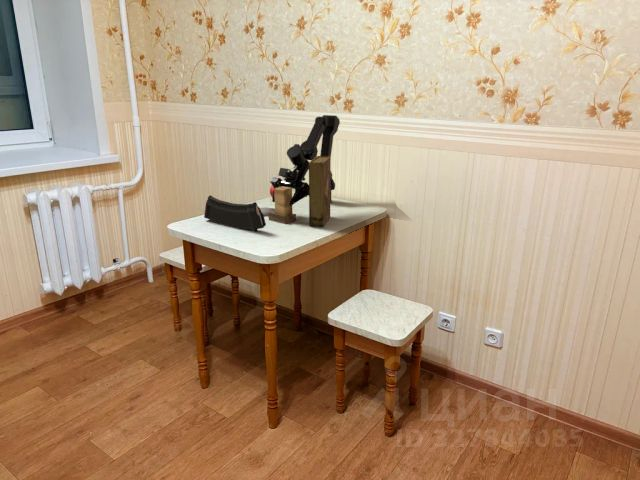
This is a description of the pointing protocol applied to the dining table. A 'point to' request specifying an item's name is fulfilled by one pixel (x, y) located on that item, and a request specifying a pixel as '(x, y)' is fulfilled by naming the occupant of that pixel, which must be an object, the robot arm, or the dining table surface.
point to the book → (319, 190)
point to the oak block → (283, 200)
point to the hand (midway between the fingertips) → (281, 203)
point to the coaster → (267, 211)
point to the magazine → (234, 214)
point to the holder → (282, 218)
